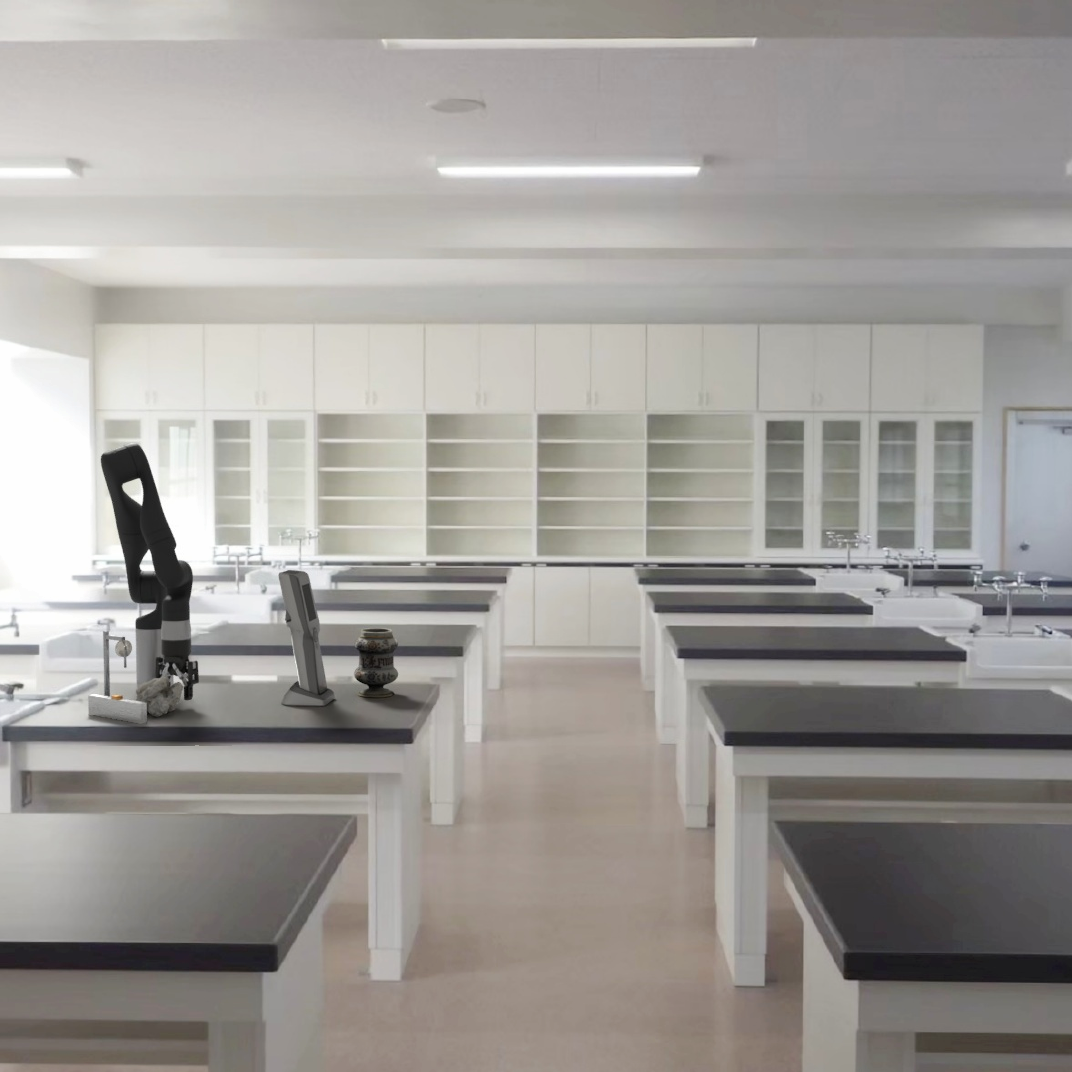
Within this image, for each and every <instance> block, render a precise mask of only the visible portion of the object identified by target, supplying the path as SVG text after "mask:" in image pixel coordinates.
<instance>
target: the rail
mask: <svg viewBox="0 0 1072 1072" xmlns="http://www.w3.org/2000/svg"><path fill="white" fill-rule="evenodd" d="M87 695H88V697H87V701H88V705H87V706H88V716H89V715H90V716H93V715H97V716H96V717H99V716H103V717H102V718H105V717H108V718H107V719H110V718H113V719H112V720H116V719H117V720H116V721H121V720H123V722H127V721H128V723H132V722H133V724H139V725H143V724H147V723H148V715H147V714H148V710H147V703H146V702H140V701H136V700H133V699H128V698H127V699H126V698H124V697H123V696H124V695H121V694H112V695H110V697H109V696H104V695H103V694H96V693H93V694H87Z"/></svg>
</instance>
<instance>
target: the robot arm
mask: <svg viewBox="0 0 1072 1072" xmlns="http://www.w3.org/2000/svg"><path fill="white" fill-rule="evenodd" d="M143 449H144V448H142V446H141V445H139V444H138V443H136V442H130V443H127V444H124V445H123V446H119V447H117V448H113V449H110V450H107V451H105V452H103V453H102V454H101V456H100V466H101V469H102V474H103V477H104V480H105V483H106V486H107V491H108V493H109V496H110V500H111V505H112V509H113V512H114V513H113V514H114V520H115V525H116V530H117V535H118V538H119V542H120V546H121V550H122V554H123V558H124V559H123V560H124V564H125V571H126V579H127V586H128V593H129V597H130V599H131V601H132V602H133V603H135V604H139V605H140V604H143V605H144V604H152V605H153V604H156V605H155V609H154V610H153V611H151V612H149V613H147V614H144V615H140V616H138V617H136V619H135V622H134V623H135V624H134V625H135V626H134V627H135V665H136V667H135V669H136V670H135V671H136V675H135V677H136V678H135V679H136V689H137V688H138V687H139V686H140V685H141V684H143V683H146V682H149V681H151V680H152V679H154V678H161V677H168V678H169V687H170V686H172V685H173V684H174V683H175V681H174V677H178V679H179V680H180V681H181V682H182V684H183V700H185V701H191V700H192V699H193V696H194V685H196V684H199V682H200V679H199V678H200V677H199V662H198V661H197V660H190V657H189V656H190V655H191V654H192V626H191V614H190V613H191V612H190V611H191V609H190V601H191V596H192V589H193V583H194V579H193V578H194V575H193V569H192V567H191V566H190V564H189V563H188V562H187V561H185V560H181V559H178V556H177V553H176V550H175V549H177V542H176V541H177V540H176V538H175V537H174V534H173V531H172V530H171V529H172V528H171V527H170V525H169V522H168V520H167V518H166V515H165V513H164V509H163V506H162V502H161V499H160V496H159V492H158V491H159V490H158V488H157V486H156V482H155V480H154V479H155V478H154V476H153V475H154V474H153V473H152V470H151V466H150V463H149V460H148V457H147V455H146V453H145V451H144V450H143ZM137 479H139V480H140V483H141V486H142V487H141V488H142V493H143V494H142V504H141V503H139V502H138V501H136V500H135V499H133V498H132V497H131V496H130V495H129V494H127V493H126V492H125V490H124V488H123V486H124V485H125V484H126V483H129V482H132V481H135V480H137ZM148 551H149V552H150V557H151V560H152V561H151V562H152V565H153V570H142V569H141V564H142V561H143V559H144V557H145V556H146V554H147V553H148Z"/></svg>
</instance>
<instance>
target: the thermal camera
mask: <svg viewBox="0 0 1072 1072" xmlns="http://www.w3.org/2000/svg"><path fill="white" fill-rule="evenodd" d="M277 577H278V580H279V584H280V591H281V595H282V600H283V604H284V608H285V617H284V621H285V627H287V628H290V636H291V643H292V649H293V650H292V651H293V656H294V662H295V665H296V670H297V676H298V677H297V678H298V680H297V681H295V682H294V683H293V684H291V685H292V686H290V687H289V689H288V690H287V691H286V693H285V694H284V695H283V698H282V699H281V705H283V706H287V707H288V706H290V707H292V706H293V707H294V706H295V707H325V706H327V705H328V704H330V703H331V702H332V701H333V700H334V699H336V696H335V692H334V691H333V690H332V689H331V688H328V684H327V679H326V672H325V667H324V660H323V657H322V650H321V645H320V640H319V635H320V630H321V626H320V618H319V614H318V609H317V606H316V602H315V598H314V594H313V593H314V592H313V588H312V583H311V579H310V576H309V574H308V572H306V571H304V570H294V569H287V570H285V571H282V572H279V573H278V576H277Z"/></svg>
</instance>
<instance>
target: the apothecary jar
mask: <svg viewBox="0 0 1072 1072" xmlns="http://www.w3.org/2000/svg"><path fill="white" fill-rule="evenodd" d="M398 646H399V642H398V639H396V637H394V634H393V630H392V629H391V628H385V627H369V628H367V627H366V628H362V629H361V630H360V635H359V636H358V638H356V640H355V642H354V647H355V649H356V650H357V651H358V655H359V656H358V667H357V668H355V670H354V673H353V676H354V678H355V679H356V680H357V682H359V683H361V684H363V685H365V686H368V687H367V688H365V689H363V690H361V691H359V692H358V693H357V694H358V695H357V696H359V697H362V698H370V699H371V698H372V699H373V698H374V699H375V698H378V699H379V698H387V697H388V698H389V697H392V696H393V695H395V692H394V691H393V690H390V689H389V688H388V687H387V688H386V687H384V686H385V685H389V684H392V683H394V682H395V681H396V680H397V678H398V676H399V672H398V669H397V668H395V665H394V654H395V653H394V652H395V650H396V649H398Z"/></svg>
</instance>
